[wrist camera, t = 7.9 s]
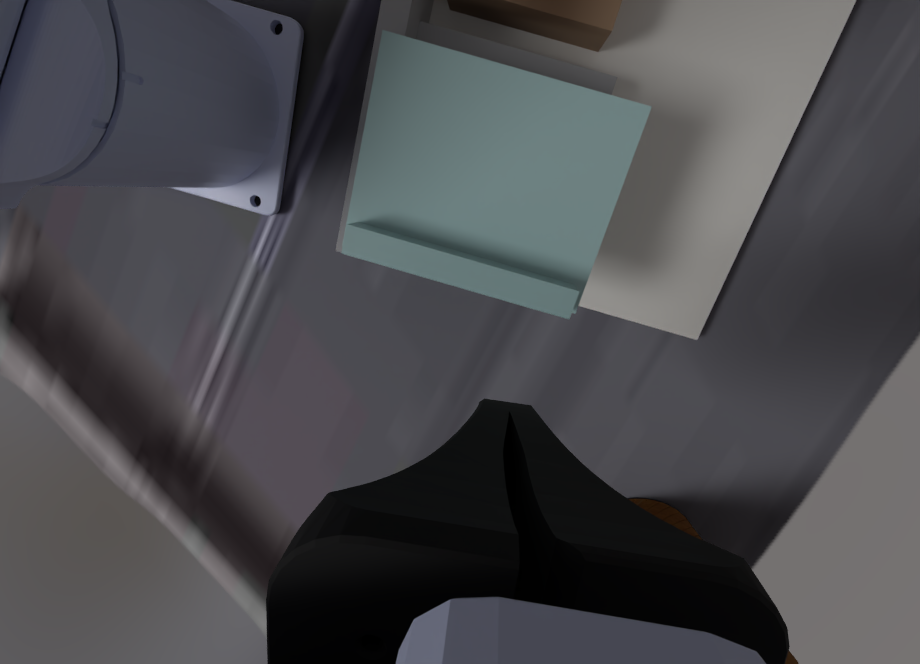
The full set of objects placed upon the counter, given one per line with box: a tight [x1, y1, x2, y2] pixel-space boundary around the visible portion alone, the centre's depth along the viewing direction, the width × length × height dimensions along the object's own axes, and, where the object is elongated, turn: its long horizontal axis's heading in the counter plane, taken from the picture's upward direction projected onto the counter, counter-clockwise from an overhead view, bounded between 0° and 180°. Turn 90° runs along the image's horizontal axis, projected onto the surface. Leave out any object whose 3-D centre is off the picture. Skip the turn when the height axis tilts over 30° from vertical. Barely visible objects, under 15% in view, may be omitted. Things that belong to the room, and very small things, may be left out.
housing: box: [336, 0, 856, 340], centre depth 17 cm, size 16×16×4 cm
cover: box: [341, 30, 652, 319], centre depth 15 cm, size 9×7×2 cm
